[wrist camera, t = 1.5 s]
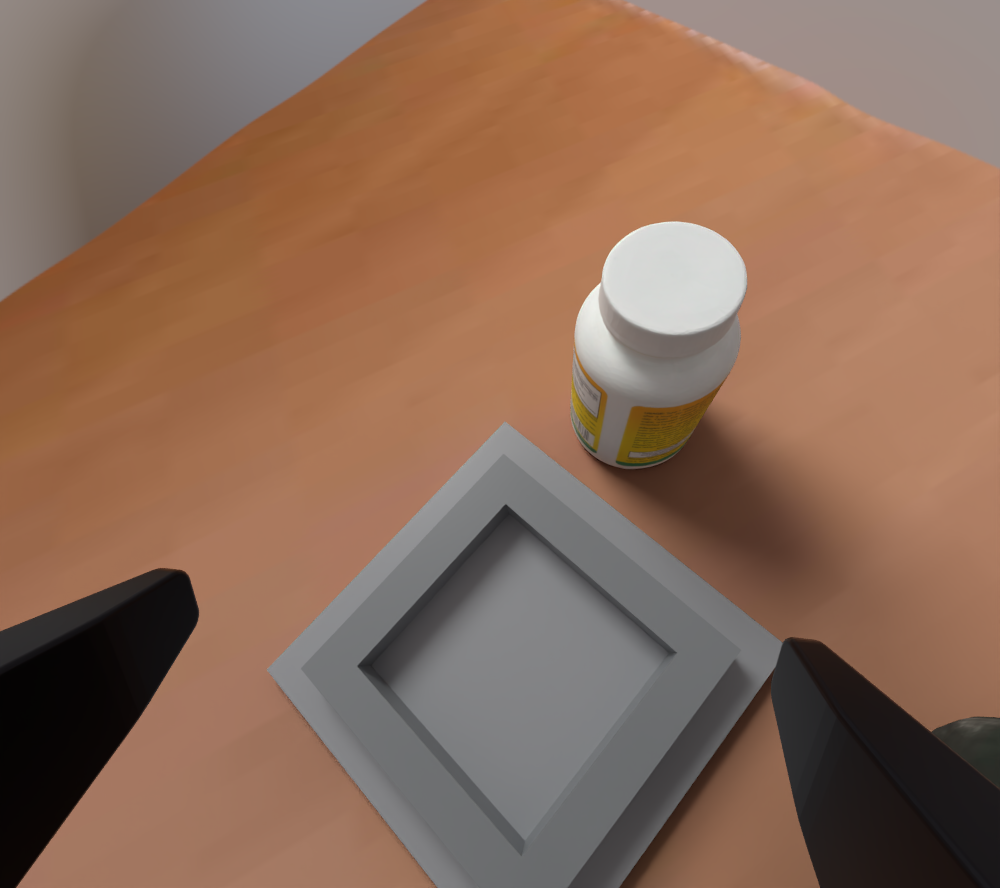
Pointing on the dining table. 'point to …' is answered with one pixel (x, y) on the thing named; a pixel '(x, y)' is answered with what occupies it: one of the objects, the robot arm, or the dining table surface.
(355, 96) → the dining table surface
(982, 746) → the squash
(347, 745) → the tray
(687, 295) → the supplement bottle
